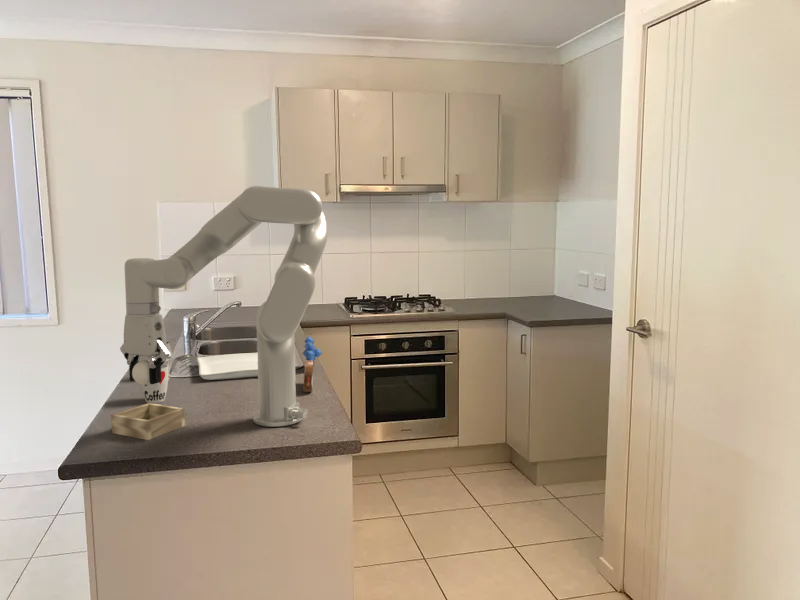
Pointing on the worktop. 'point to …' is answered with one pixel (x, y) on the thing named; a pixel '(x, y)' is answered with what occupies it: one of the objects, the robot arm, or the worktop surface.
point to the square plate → (228, 366)
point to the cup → (157, 387)
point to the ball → (142, 372)
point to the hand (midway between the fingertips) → (145, 380)
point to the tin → (308, 376)
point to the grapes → (311, 350)
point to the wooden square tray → (148, 421)
